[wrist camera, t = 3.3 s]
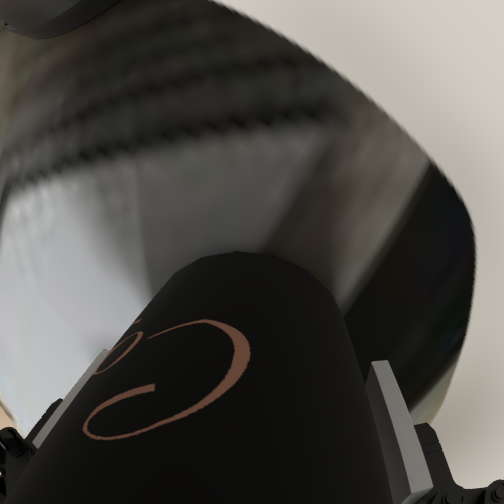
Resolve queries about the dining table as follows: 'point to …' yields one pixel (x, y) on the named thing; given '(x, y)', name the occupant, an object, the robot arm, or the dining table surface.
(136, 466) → the coffee jar
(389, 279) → the dining table surface
